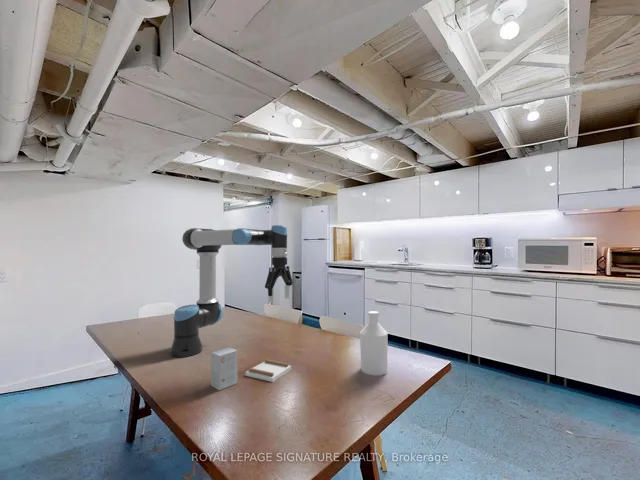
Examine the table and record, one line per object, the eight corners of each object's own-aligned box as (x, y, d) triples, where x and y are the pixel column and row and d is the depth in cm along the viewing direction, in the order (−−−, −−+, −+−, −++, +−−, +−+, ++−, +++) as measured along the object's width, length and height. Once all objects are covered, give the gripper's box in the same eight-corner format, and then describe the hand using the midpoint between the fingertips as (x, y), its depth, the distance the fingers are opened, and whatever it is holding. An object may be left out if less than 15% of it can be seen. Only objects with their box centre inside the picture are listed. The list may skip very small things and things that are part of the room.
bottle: (389, 366, 133) (388, 310, 134) (386, 377, 122) (385, 316, 122) (363, 363, 137) (362, 308, 137) (358, 373, 125) (357, 314, 126)
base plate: (245, 375, 124) (245, 369, 124) (265, 363, 137) (265, 358, 137) (272, 382, 118) (272, 375, 118) (291, 369, 131) (291, 363, 131)
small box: (228, 378, 121) (228, 346, 122) (237, 383, 117) (237, 350, 118) (210, 385, 115) (210, 352, 116) (219, 390, 111) (219, 355, 112)
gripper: (270, 257, 132) (270, 305, 131) (299, 256, 154) (299, 297, 154) (257, 257, 135) (257, 304, 135) (287, 256, 158) (287, 296, 157)
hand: (279, 300), depth 144 cm, fingers open, 13 cm apart
